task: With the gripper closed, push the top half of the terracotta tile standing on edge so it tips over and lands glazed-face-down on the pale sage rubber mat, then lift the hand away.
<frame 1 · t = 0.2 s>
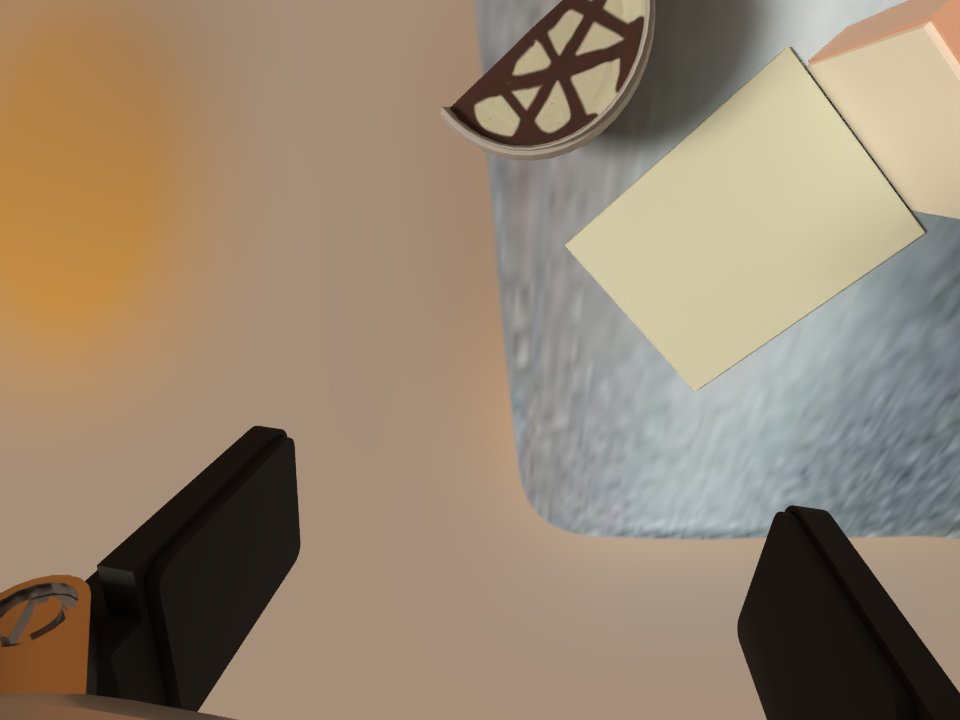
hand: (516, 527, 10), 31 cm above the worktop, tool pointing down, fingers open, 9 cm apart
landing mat: (734, 238, 37), on the worktop
tile: (882, 122, 33), on the worktop
food container: (566, 97, 36), on the worktop
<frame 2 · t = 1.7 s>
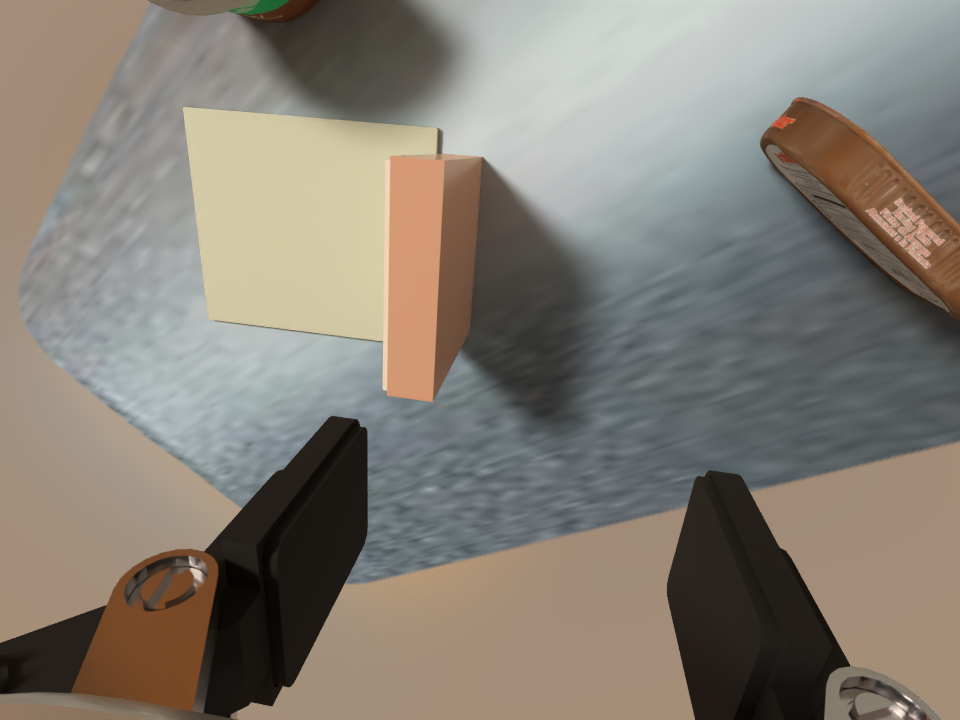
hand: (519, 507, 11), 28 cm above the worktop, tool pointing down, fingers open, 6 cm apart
tin: (837, 205, 33), on the worktop
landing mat: (313, 232, 38), on the worktop
tile: (458, 247, 37), on the worktop
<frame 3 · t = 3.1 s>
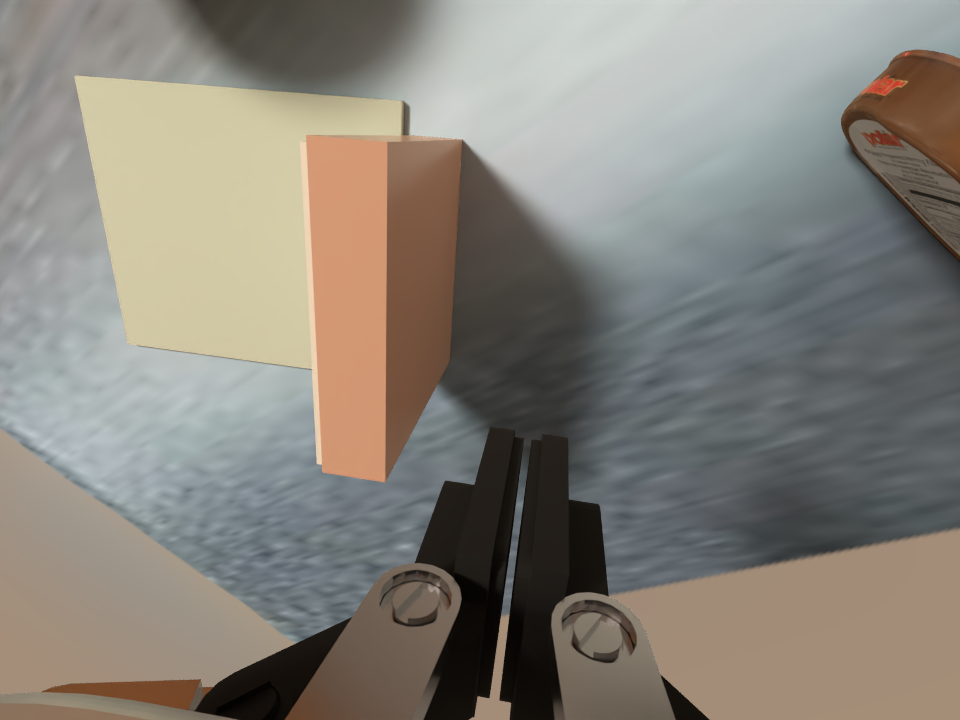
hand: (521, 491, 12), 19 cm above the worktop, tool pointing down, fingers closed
tin: (936, 203, 25), on the worktop
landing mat: (250, 237, 30), on the worktop
tile: (433, 257, 29), on the worktop
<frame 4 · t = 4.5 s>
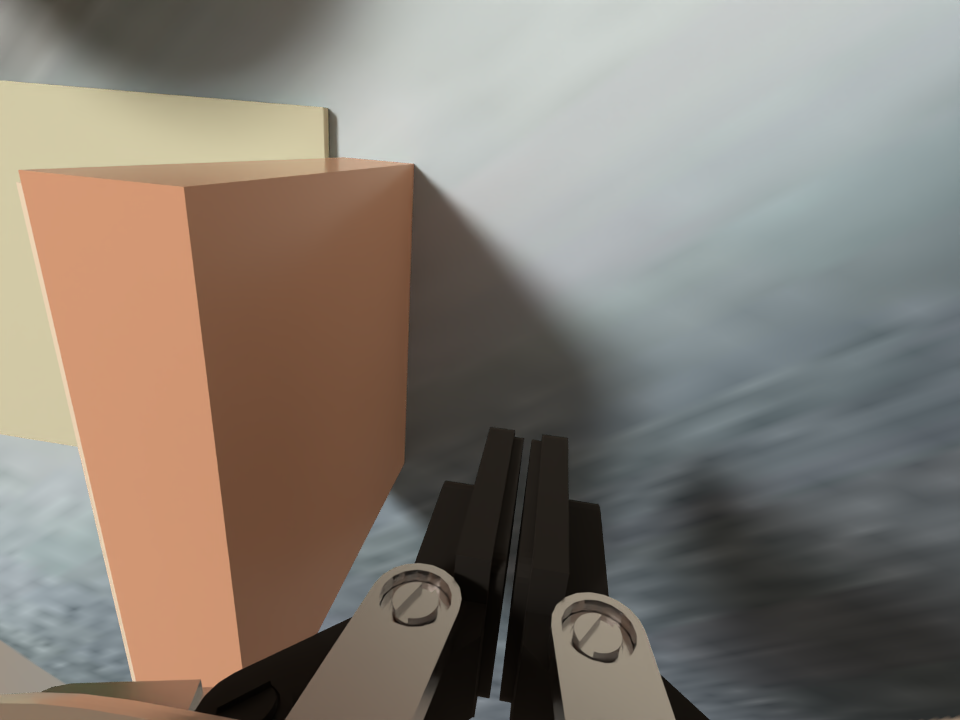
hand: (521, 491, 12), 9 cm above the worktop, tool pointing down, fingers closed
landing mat: (126, 294, 22), on the worktop
tile: (377, 325, 21), on the worktop
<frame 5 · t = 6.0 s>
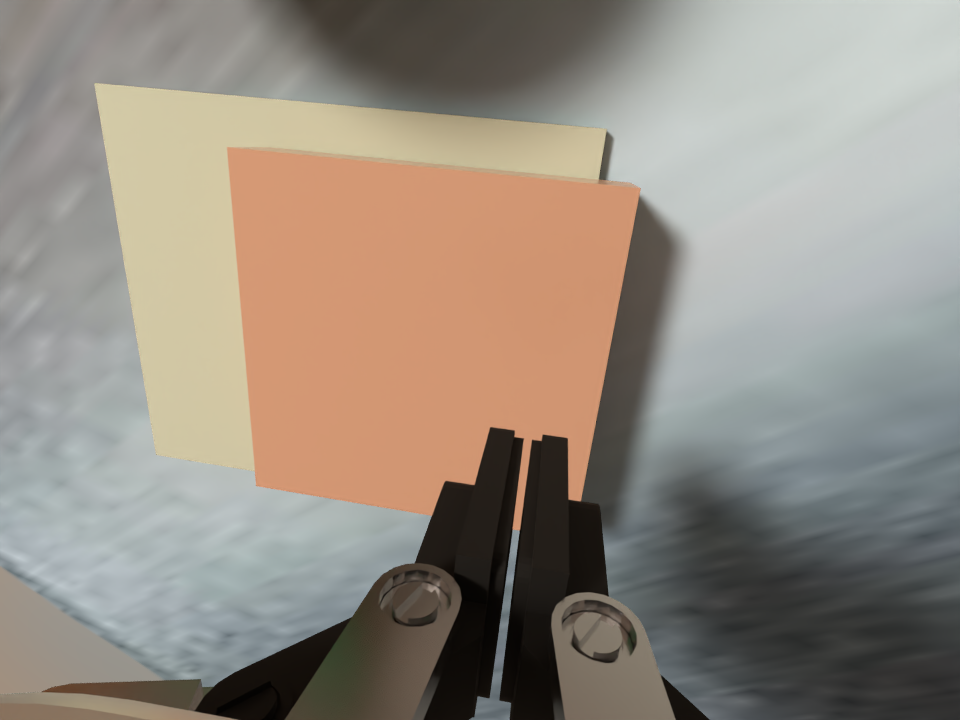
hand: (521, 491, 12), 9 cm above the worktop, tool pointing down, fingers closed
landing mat: (344, 318, 21), on the worktop
tile: (600, 372, 18), point 2 cm above the worktop, tilted 90°, touching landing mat
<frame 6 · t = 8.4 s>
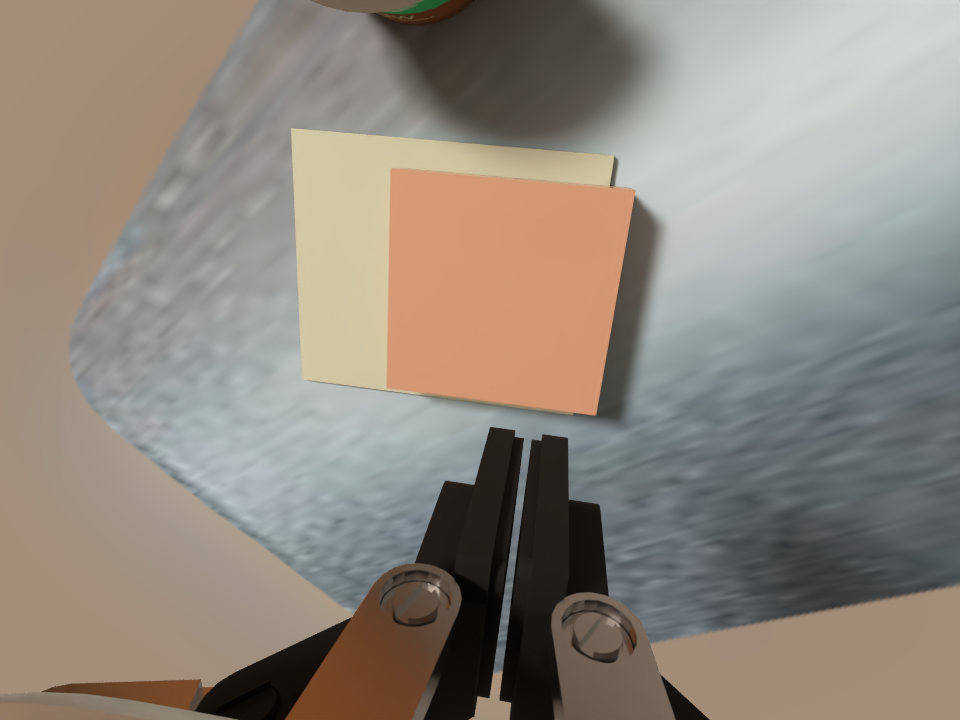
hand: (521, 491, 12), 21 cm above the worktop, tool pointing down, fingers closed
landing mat: (441, 278, 32), on the worktop
tile: (611, 305, 29), point 2 cm above the worktop, tilted 90°, touching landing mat
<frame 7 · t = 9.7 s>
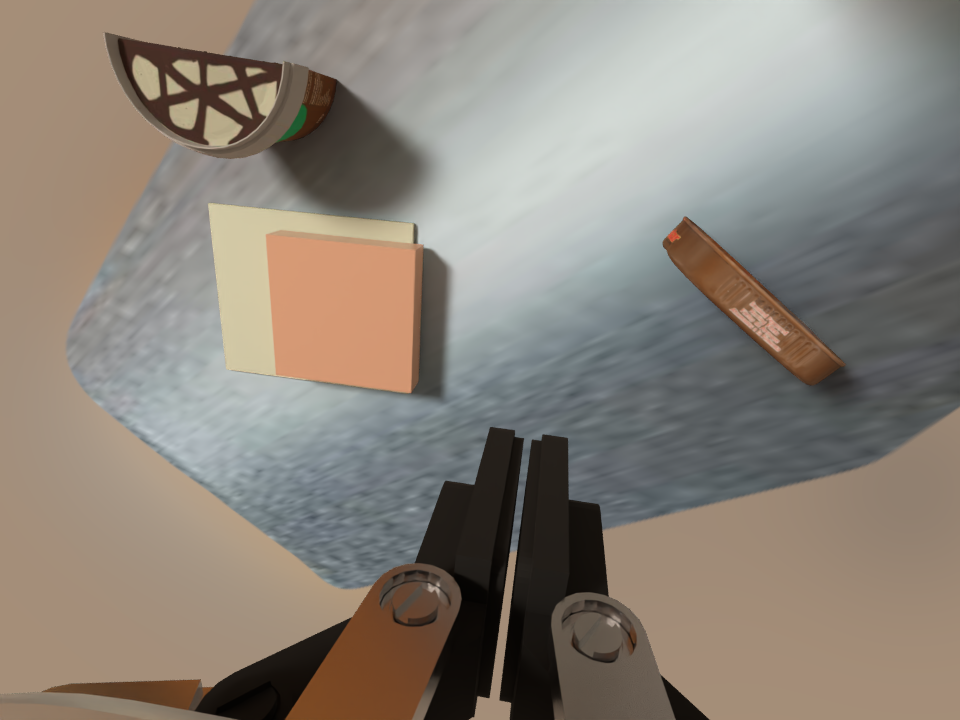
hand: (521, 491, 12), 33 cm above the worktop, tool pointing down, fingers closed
tin: (731, 287, 42), on the worktop
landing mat: (314, 301, 47), on the worktop
tile: (417, 320, 44), point 2 cm above the worktop, tilted 90°, touching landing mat
food container: (278, 114, 42), on the worktop
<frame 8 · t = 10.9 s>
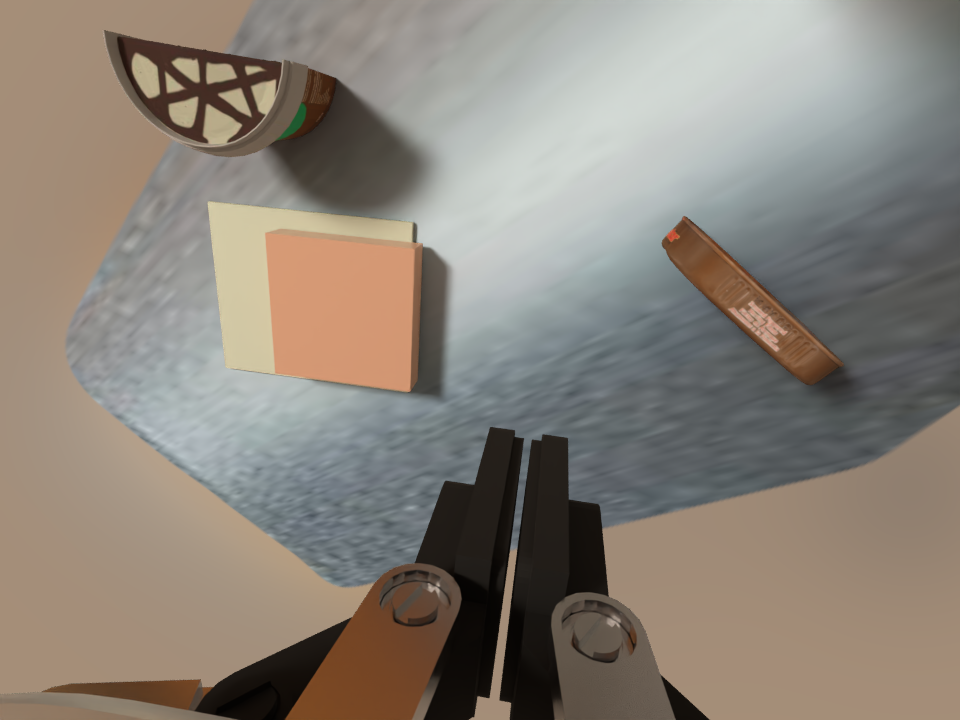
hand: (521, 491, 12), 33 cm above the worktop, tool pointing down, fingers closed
tin: (730, 287, 42), on the worktop
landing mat: (313, 299, 47), on the worktop
tile: (416, 319, 44), point 2 cm above the worktop, tilted 90°, touching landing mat
food container: (277, 112, 42), on the worktop
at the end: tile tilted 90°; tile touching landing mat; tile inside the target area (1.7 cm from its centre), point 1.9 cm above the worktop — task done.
